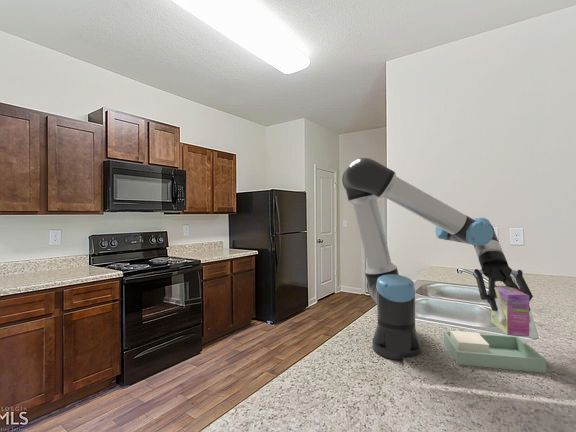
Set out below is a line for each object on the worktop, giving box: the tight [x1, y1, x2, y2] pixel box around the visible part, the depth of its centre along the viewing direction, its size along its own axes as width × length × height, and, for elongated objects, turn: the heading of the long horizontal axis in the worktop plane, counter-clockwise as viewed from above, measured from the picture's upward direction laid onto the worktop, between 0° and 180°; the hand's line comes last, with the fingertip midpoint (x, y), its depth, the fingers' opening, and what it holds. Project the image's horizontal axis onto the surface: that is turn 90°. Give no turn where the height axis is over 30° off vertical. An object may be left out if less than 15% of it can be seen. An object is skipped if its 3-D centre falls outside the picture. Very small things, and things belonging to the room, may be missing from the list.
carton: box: [449, 330, 489, 353], centre depth 92 cm, size 8×9×5 cm
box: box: [490, 285, 530, 337], centre depth 90 cm, size 10×6×12 cm, turn 168°
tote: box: [442, 330, 547, 374], centre depth 91 cm, size 22×16×4 cm
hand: (515, 321), depth 86 cm, fingers closed on box, 6 cm apart
